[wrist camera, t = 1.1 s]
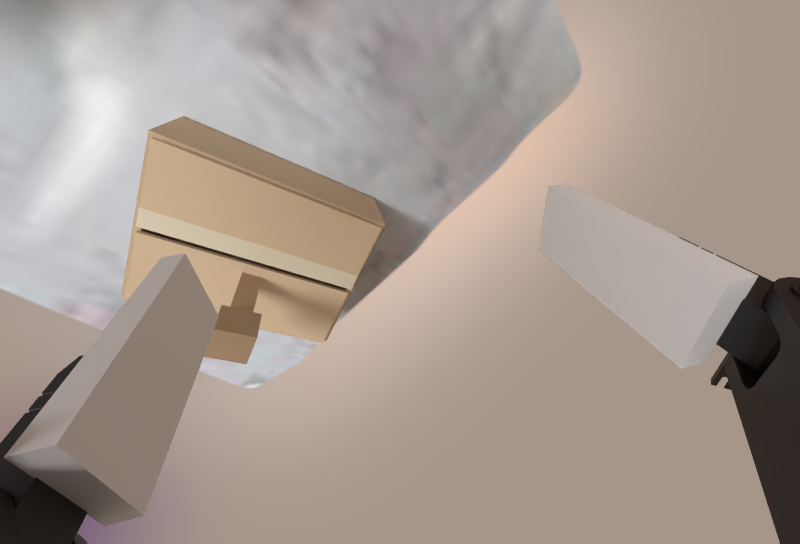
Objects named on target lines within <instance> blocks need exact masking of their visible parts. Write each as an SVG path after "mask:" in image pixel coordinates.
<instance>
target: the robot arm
mask: <svg viewBox="0 0 800 544" xmlns="http://www.w3.org/2000/svg"><path fill="white" fill-rule="evenodd" d="M539 250H540V251H541V252H542V253H543V254H545V255H546V256H547V257H548V258H549V259H550V260H552V261H553V262H554V263H555V264H557V265H558V266H559V267H560V268H561V269H562V270H564V271H565V272H566V273H567V274H569V275H570V276H571V277H572V278H573V279H574V280H576V281H577V282H578V283H579V284H581V285H582V286H583V287H584V288H585V289H587V290H588V291H589V292H590V293H591V294H592V295H594V296H595V297H596V298H597V299H598V300H600V301H601V302H602V303H603V304H604V305H606V306H607V307H608V308H609V309H610V310H612V311H613V312H614V313H615V314H616V315H618V316H619V317H620V318H621V319H622V320H624V321H625V322H626V323H627V324H628V325H630V326H631V327H632V328H633V329H634V330H636V331H637V332H638V333H639V334H640V335H642V336H643V337H644V338H645V339H646V340H648V341H649V342H650V343H651V344H652V345H654V346H655V347H656V348H657V349H658V350H660V351H661V352H662V353H663V354H664V355H666V356H667V357H668V358H669V359H670V360H672V361H673V362H674V363H675V364H676V365H677V366H679V367H680V368H681V369H682V368H685V367H689V366H692V365H696V364H700V363H703V362H706V361H707V360H708V358H709V356H710V355H711V353H712V352H713V350H714V348H715V346H716V345H719V346H720V347H721V348H723V349H724V350H726V351H727V352H728V353H727V355H726V357H725V358H724V360H723V361H722V363H721V364H720V366H719V367H718V369H717V371H716V372H715V374H714V375H713V377H712V378H711V385H715V386H716V385H717V384H718V383H719V381H720V380H721V378H722V377H727V378H728V382H727V383H726V385H725V386H724V388H726V389H730V390H732V393H733V396H734V400H735V402H736V406H737V409H738V412H739V416H740V419H741V422H742V425H743V428H744V431H745V434H746V438H747V441H748V444H749V447H750V450H751V453H752V456H753V460H754V463H755V466H756V469H757V472H758V475H759V478H760V482H761V485H762V488H763V491H764V494H765V497H766V500H767V504H768V507H769V510H770V513H771V516H772V519H773V522H774V525H775V529H776V532H777V535H778V538H779V541H780V544H800V278H795V277H787V278H780V279H778V280H776V281H775V282H773V281H770V280H768V279H766V278H764V277H762V276H760V275H758V274H756V273H754V272H752V271H749V270H747V269H745V268H743V267H741V266H739V265H737V264H735V263H733V262H731V261H729V260H726V259H724V258H722V257H720V256H718V255H714V254H713V253H712V252H710V251H708V250H706V249H703V248H699V246H697V245H695V244H693V243H691V242H689V241H687V240H685V239H682V238H679V237H676V236H674V235H672V234H670V233H668V232H666V231H664V230H662V229H660V228H658V227H656V226H654V225H652V224H649V223H647V222H645V221H643V220H641V219H639V218H637V217H635V216H633V215H631V214H629V213H627V212H624V211H622V210H620V209H618V208H616V207H614V206H612V205H610V204H608V203H606V202H603V201H602V200H599V199H597V198H595V197H593V196H591V195H589V194H587V193H585V192H583V191H581V190H579V189H577V188H574V187H572V186H570V185H568V184H562V185H557V186H551V187H548V193H547V200H546V206H545V212H544V219H543V226H542V232H541V238H540V245H539ZM218 317H219V316H218V314H217V312H216V310H215V308H214V306H213V304H212V302H211V301H210V299H209V297H208V295H207V293H206V291H205V289H204V287H203V285H202V284H201V282H200V280H199V278H198V276H197V274H196V272H195V270H194V269H193V267H192V265H191V263H190V261H189V259H188V257H187V255H186V254H185V253H184V254H179V255H173V256H168V257H162V258H160V259H159V261H158V262H157V263H156V264H155V266H154V267H153V268H152V270H151V271H150V272H149V273H148V275H147V276H146V277H145V278H144V280H143V281H142V282H141V284H140V285H139V286H138V287H137V289H136V290H135V291H134V292H133V294H132V295H131V296H130V297H129V299H128V300H127V301H126V303H125V304H124V305H123V306H122V308H121V309H120V310H119V311H118V313H117V314H116V315H115V317H114V318H113V319H112V320H111V322H110V323H109V324H108V325H107V327H106V328H105V329H104V331H103V332H102V333H101V334H100V336H99V337H98V338H97V339H96V341H95V342H94V343H93V345H92V346H91V347H90V348H89V350H88V351H87V352H86V354H85V355H83V356H79V357H78V358H77V359H76V360H74V361H73V362H72V363H71V364H69V365H68V366H67V367H66V368H64V369H63V370H62V371H61V372H60V373H58V374H57V376H56V377H55V378H54V379H53V380H52V381H51V383H50V384H49V385H48V386H47V388H46V389H45V390H44V391H43V392H42V394H43V395H42V396H40V397H38V399H37V400H36V401H35V402H34V403H33V405H32V406H31V407H30V408H29V413H25V414H24V415H23V417H22V418H21V419H20V420H19V422H18V423H17V424H16V425H15V426H14V428H13V429H12V430H11V431H10V432H9V434H8V435H7V436H6V437H5V438H4V440H3V441H2V442H1V443H0V544H87V541H86V540H85V539H84V538H82V536H80V535H79V534H77V532H78V530H79V528H80V526H81V524H82V522H83V520H84V518H85V516H86V514H87V515H89V516H90V517H92V518H93V519H95V520H96V521H98V522H99V523H101V524H102V525H104V526H106V525H110V524H113V523H117V522H121V521H125V520H129V519H132V518H136V517H139V516H143V515H144V513H145V511H146V508H147V505H148V503H149V500H150V497H151V495H152V492H153V489H154V487H155V484H156V481H157V479H158V476H159V474H160V471H161V468H162V465H163V463H164V460H165V458H166V455H167V452H168V450H169V447H170V444H171V442H172V439H173V436H174V434H175V431H176V428H177V426H178V423H179V420H180V418H181V415H182V412H183V410H184V407H185V404H186V402H187V399H188V396H189V394H190V391H191V389H192V386H193V383H194V381H195V378H196V375H197V373H198V370H199V367H200V365H201V362H202V359H203V357H204V354H205V351H206V349H207V346H208V343H209V341H210V338H211V336H212V333H213V330H214V328H215V325H216V322H217V320H218Z"/></svg>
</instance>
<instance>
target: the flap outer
mask: <svg viewBox="0 0 800 544" xmlns="http://www.w3.org/2000/svg"><path fill="white" fill-rule="evenodd" d="M184 253H185V254H186V255H187V257H188V259H189V261H190V263H191V265H192V267H193V269H194V270H195V272H196V274H197V276H198V278H199V280H200V282H201V284H202V285H203V287H204V289H205V291H206V293H207V295H208V297H209V299H210V301H211V302H212V304H213V306H214V308H215V310H216V312H217V314H218V316H219V317H218V320H217V322H216V325H215V328H214V330H213V333H212V336H211V338H210V341H209V343H208V346H207V349H206V351H205V354H204V357H208V358H214V359H220V360H226V361H232V362H237V363H243V364H247V362H248V359H249V357H250V354H251V352H252V349H253V346H254V344H255V341H256V339H257V335H258V330H259V329H260V330H265V331H270V332H274V333H279V334H284V335H288V336H293V337H298V338H302V339H307V340H312V341H316V342H321V343H323V342H324V340H325V338H326V336H327V334H328V332H329V330H330V328H331V326H332V324H333V322H334V320H335V318H336V316H337V314H338V312H339V310H340V308H341V306H342V304H343V302H344V300H345V298H346V296H347V294H348V291H346V290H343V289H339V288H336V287H332V286H329V285H325V284H322V283H318V282H315V281H312V280H308V279H305V278H301V277H298V276H294V275H291V274H287V273H284V272H281V271H277V270H274V269H270V268H267V267H263V266H260V265H257V264H253V263H250V262H246V261H243V260H239V259H236V258H232V257H229V256H226V255H222V254H219V253H215V252H212V251H208V250H205V249H202V248H198V247H195V246H191V245H188V244H184V243H181V242H177V241H174V240H171V239H167V238H164V237H160V236H157V235H153V234H150V233H147V232H143V231H140V230H138V231H137V232H136V235H135V241H134V247H133V253H132V259H131V265H130V271H129V276H128V282H127V288H126V294H125V301H127V300H128V299H129V297H130V296H131V295H132V294H133V292H134V291H135V290H136V289H137V287H138V286H139V285H140V284H141V282H142V281H143V280H144V278H145V277H146V276H147V275H148V273H149V272H150V271H151V270H152V268H153V267H154V266H155V264H156V263H157V262H158V261H159V259H160V258H162V257H168V256H173V255H179V254H184Z"/></svg>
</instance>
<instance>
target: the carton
mask: <svg viewBox="0 0 800 544" xmlns="http://www.w3.org/2000/svg"><path fill="white" fill-rule="evenodd" d="M385 225H386V224H385V222H384V220H383V218H382V215H381V213H380V211H379V208H378V206H377V204H376V202H375V199H374V198H373V197H371V196H369V195H366V194H364V193H362V192H360V191H357V190H355V189H353V188H350V187H348V186H346V185H343V184H341V183H339V182H336V181H334V180H332V179H329V178H327V177H325V176H322V175H320V174H318V173H315V172H313V171H311V170H308V169H306V168H304V167H301V166H299V165H297V164H294V163H292V162H290V161H287V160H285V159H283V158H280V157H278V156H276V155H273V154H271V153H269V152H266V151H264V150H262V149H259V148H257V147H255V146H253V145H250V144H248V143H246V142H243V141H241V140H239V139H236V138H234V137H232V136H229V135H227V134H225V133H222V132H220V131H218V130H215V129H213V128H211V127H208V126H206V125H204V124H201V123H199V122H197V121H194V120H192V119H190V118H187V117H185V116H183V117H180V118H178V119H175V120H173V121H170V122H168V123H165V124H163V125H160V126H158V127H155V128H153V129H150V130H149V131H148V137H147V143H146V149H145V155H144V161H143V167H142V173H141V179H140V185H139V191H138V197H137V204H136V210H135V216H134V222H133V228H132V234H131V240H130V246H129V252H128V258H127V264H126V270H125V277H124V283H123V289H122V295H121V296H123V297H125V294H126V288H127V282H128V276H129V271H130V265H131V259H132V253H133V247H134V241H135V235H136V232H137V231H138V230H140V231H143V232H147V233H150V234H153V235H157V236H160V237H164V238H167V239H171V240H174V241H177V242H181V243H184V244H188V245H191V246H195V247H198V248H202V249H205V250H208V251H212V252H215V253H219V254H222V255H226V256H229V257H232V258H236V259H239V260H243V261H246V262H250V263H253V264H257V265H260V266H263V267H267V268H270V269H274V270H277V271H281V272H284V273H287V274H291V275H294V276H298V277H301V278H305V279H308V280H312V281H315V282H318V283H322V284H325V285H329V286H332V287H336V288H339V289H343V290H346V291H348V294H347V296H346V298H345V300H344V302H343V304H342V306H341V308H340V310H339V312H338V314H337V316H336V318H335V320H334V322H333V324H332V326H331V328H330V330H329V332H328V334H327V336H326V338H325V340H324V341H326V340H327V338H328V336H329V334H330V332H331V330H332V328H333V327H334V325H335V323H336V321H337V319H338V317H339V315H340V313H341V311H342V309H343V307H344V305H345V303H346V301H347V299H348V297H349V295H350V293H351V291H352V289H353V288H354V286H355V284H356V282H357V280H358V278H359V276H360V274H361V272H362V270H363V268H364V266H365V264H366V262H367V260H368V258H369V256H370V254H371V252H372V250H373V248H374V247H375V245H376V243H377V241H378V239H379V237H380V235H381V233H382V231H383V229H384V227H385Z"/></svg>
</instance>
